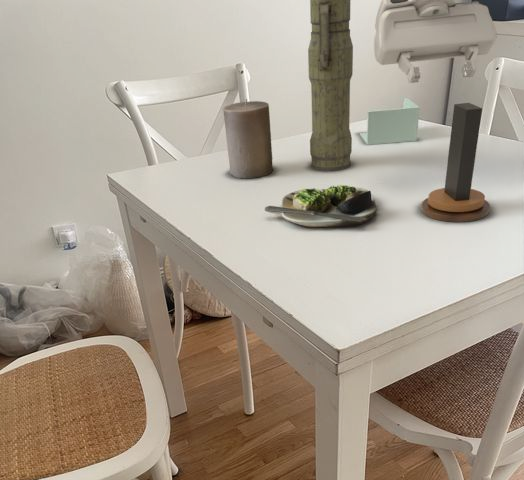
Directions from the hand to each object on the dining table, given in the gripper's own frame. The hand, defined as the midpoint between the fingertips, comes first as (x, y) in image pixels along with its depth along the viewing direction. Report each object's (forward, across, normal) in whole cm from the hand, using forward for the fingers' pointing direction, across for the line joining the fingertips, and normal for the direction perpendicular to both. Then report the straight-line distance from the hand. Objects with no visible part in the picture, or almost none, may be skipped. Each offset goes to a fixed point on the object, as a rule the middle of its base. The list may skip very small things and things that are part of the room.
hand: (442, 77), depth 90 cm
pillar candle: (-3, +32, -31) cm, 44 cm away
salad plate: (+18, +20, -10) cm, 29 cm away
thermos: (-3, +14, -30) cm, 33 cm away
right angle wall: (-16, -4, -43) cm, 46 cm away
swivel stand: (+21, 0, -6) cm, 22 cm away
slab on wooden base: (+20, 0, -5) cm, 21 cm away
